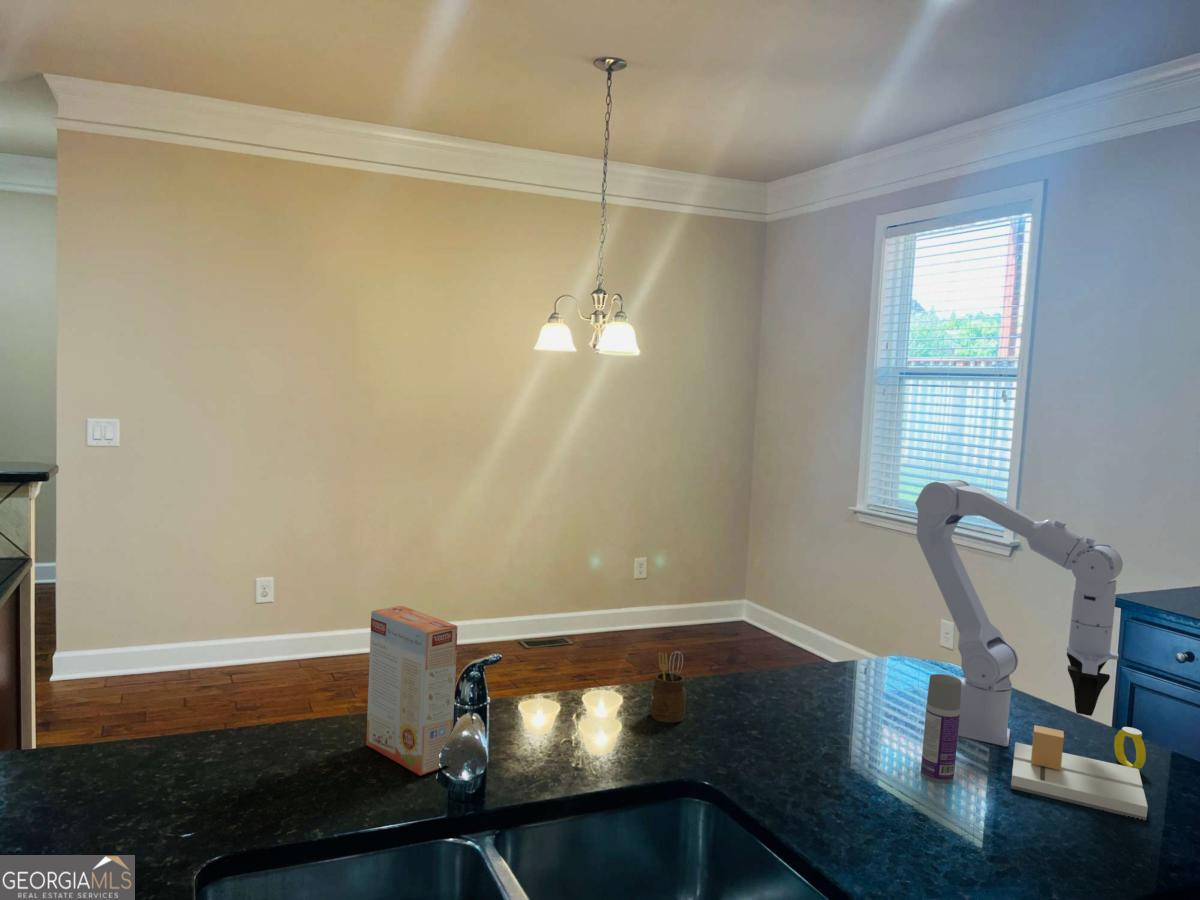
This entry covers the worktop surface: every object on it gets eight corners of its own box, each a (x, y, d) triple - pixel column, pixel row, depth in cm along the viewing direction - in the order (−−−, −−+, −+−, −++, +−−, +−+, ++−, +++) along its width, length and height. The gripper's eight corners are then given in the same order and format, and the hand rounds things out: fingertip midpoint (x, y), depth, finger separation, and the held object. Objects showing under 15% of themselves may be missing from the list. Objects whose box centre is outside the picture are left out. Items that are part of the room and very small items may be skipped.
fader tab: (1029, 773, 131) (1033, 731, 130) (1030, 766, 133) (1034, 725, 133) (1059, 780, 129) (1063, 737, 128) (1059, 772, 131) (1063, 731, 131)
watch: (1147, 776, 135) (1153, 740, 134) (1130, 775, 134) (1135, 739, 134) (1124, 756, 140) (1129, 722, 140) (1107, 755, 140) (1112, 721, 140)
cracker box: (454, 766, 124) (460, 624, 123) (419, 778, 120) (425, 631, 118) (398, 735, 134) (403, 603, 132) (364, 745, 129) (369, 609, 128)
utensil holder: (690, 716, 148) (695, 648, 147) (673, 727, 143) (678, 656, 142) (660, 707, 151) (664, 640, 150) (642, 718, 146) (646, 649, 145)
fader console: (1010, 788, 127) (1012, 774, 127) (1014, 754, 139) (1015, 741, 139) (1146, 820, 119) (1147, 806, 119) (1137, 781, 131) (1138, 768, 131)
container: (952, 772, 131) (961, 676, 130) (954, 785, 127) (963, 686, 125) (920, 766, 133) (928, 671, 131) (920, 779, 128) (929, 681, 127)
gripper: (1124, 638, 127) (1115, 727, 128) (1118, 616, 140) (1109, 697, 141) (1070, 629, 130) (1061, 716, 131) (1068, 609, 143) (1060, 688, 144)
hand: (1083, 706), depth 136 cm, fingers open, 7 cm apart
